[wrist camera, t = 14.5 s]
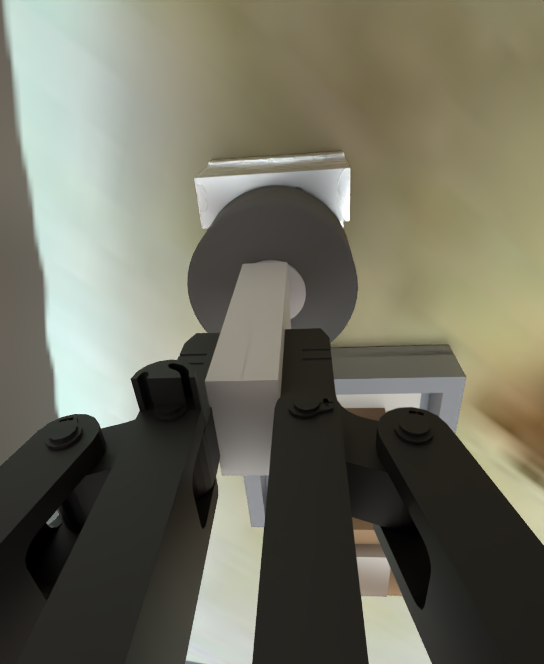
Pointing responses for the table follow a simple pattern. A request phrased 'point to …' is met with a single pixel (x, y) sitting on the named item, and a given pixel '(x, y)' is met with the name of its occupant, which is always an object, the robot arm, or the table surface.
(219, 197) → the axle mount
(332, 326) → the wheel
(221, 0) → the table surface
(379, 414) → the walnut block
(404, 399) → the chassis bay
